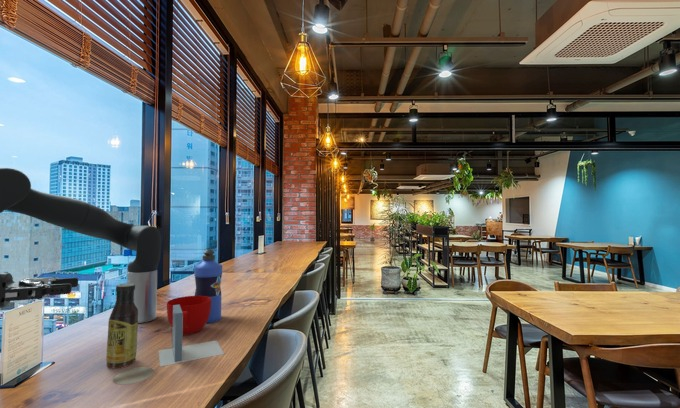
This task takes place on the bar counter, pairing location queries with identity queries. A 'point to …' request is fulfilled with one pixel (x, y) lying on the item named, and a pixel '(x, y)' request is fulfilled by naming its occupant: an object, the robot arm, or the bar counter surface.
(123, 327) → the sauce bottle
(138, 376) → the coaster
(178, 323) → the tile
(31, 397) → the bar counter surface
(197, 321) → the ceramic cup
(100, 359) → the bar counter surface
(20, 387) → the bar counter surface
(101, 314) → the bar counter surface
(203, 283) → the water bottle
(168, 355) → the mat
